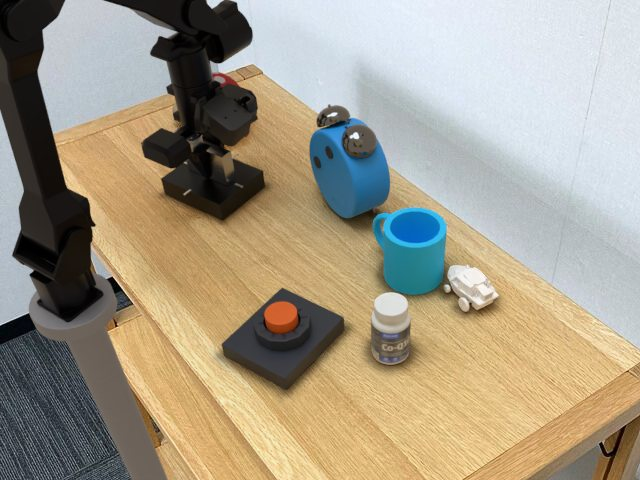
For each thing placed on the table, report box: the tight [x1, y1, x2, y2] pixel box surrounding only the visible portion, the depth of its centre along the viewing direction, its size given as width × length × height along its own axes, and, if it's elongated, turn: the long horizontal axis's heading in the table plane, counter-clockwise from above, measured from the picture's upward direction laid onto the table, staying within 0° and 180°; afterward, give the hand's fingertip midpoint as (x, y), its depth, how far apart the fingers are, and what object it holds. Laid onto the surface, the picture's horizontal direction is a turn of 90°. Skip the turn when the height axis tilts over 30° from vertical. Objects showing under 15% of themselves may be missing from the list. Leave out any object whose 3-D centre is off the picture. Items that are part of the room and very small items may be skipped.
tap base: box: [160, 153, 266, 221], centre depth 116 cm, size 12×12×3 cm
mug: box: [371, 206, 448, 296], centre depth 101 cm, size 12×8×8 cm
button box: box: [221, 287, 346, 391], centre depth 94 cm, size 12×10×4 cm
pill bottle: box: [370, 291, 412, 366], centre depth 91 cm, size 5×5×8 cm
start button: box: [264, 301, 298, 334], centre depth 92 cm, size 4×4×2 cm
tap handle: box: [187, 140, 236, 186], centre depth 113 cm, size 8×2×5 cm, turn 55°
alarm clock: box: [308, 103, 391, 219], centre depth 108 cm, size 13×6×15 cm, turn 32°
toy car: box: [443, 264, 500, 313], centre depth 98 cm, size 5×8×4 cm, turn 31°
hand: (212, 173), depth 115 cm, fingers closed, pressing on tap handle
